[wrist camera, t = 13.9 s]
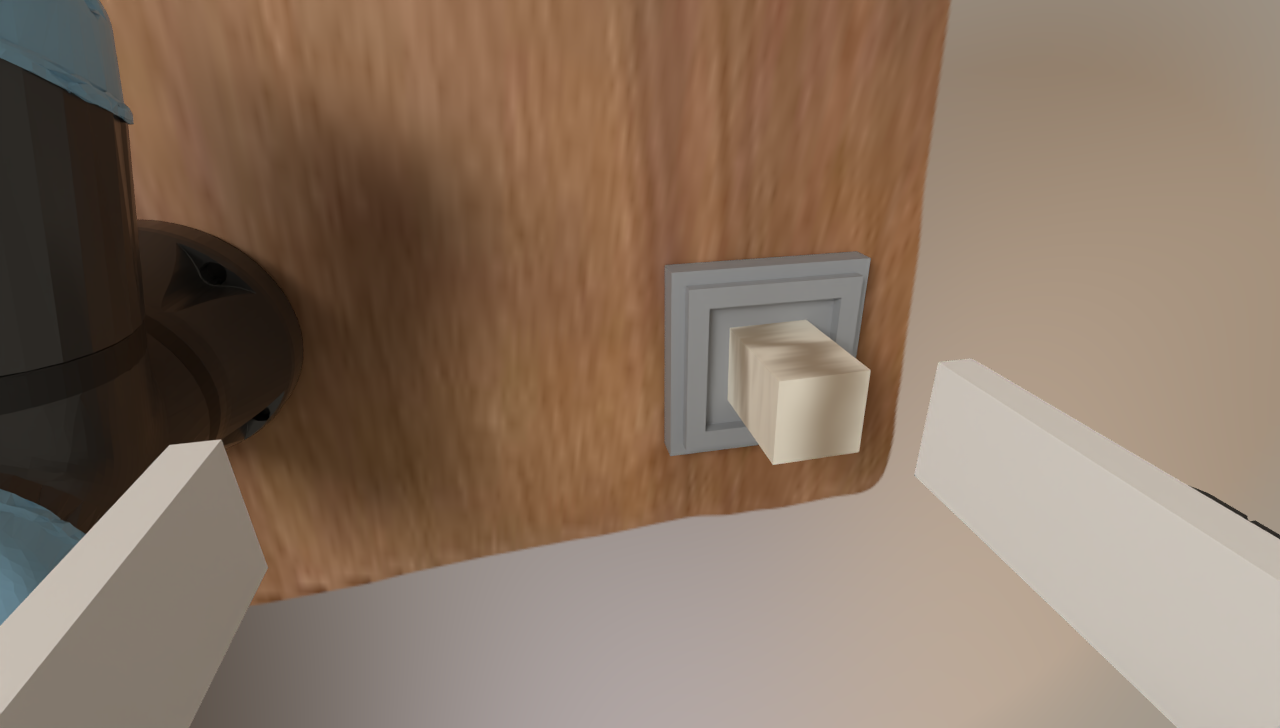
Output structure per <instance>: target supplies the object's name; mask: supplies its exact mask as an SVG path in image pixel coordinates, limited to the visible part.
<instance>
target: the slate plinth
mask: <svg viewBox="0 0 1280 728" xmlns="http://www.w3.org/2000/svg"><path fill="white" fill-rule="evenodd" d="M870 260H871V258H869V257H867V256H865V255H863V254H861V253H859V252H857V251H856V252H842V253H828V254H814V255H800V256H786V257H772V258H758V259H744V260H730V261H716V262H702V263H688V264H674V265H665V445H666V447H667V449H668V452H669V454H670V456H675V455H683V454H690V453H698V452H706V451H714V450H722V449H730V448H738V447H746V446H753V445H759V444H758V443H757V441H756V440H755V438H754V437H753V436H752V434H751V433H750V431H749V430H748V428H747V427H746V426H745V424H744V423H743V421H742V420H741V418H740V417H739V416H738V414H737V413H736V411H735V410H734V408H733V407H732V406H731V404H730V403H729V401H728V369H729V338H730V328H734V327H743V326H752V325H762V324H771V323H780V322H789V321H799V320H807V321H809V322H810V323H811V324H812V325H814V326H815V327H816V328H818V329H819V330H820V331H821V332H823V333H824V334H825V335H826V336H828V337H829V338H830V339H832V340H833V341H834V342H835V343H837V344H838V345H839V346H841V347H842V348H843V349H844V350H846V351H847V352H848V353H849V354H851V355H852V356H853V357H855V358H856V354H857V348H858V341H859V334H860V327H861V321H862V314H863V307H864V300H865V294H866V287H867V280H868V273H869V267H870Z"/></svg>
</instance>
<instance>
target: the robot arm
mask: <svg viewBox="0 0 1280 728" xmlns="http://www.w3.org/2000/svg"><path fill="white" fill-rule="evenodd" d="M128 124H133V114H132V112H131V110H130V108H128V107H127V106H126V105H125V104H124V100H123V93H122V87H121V81H120V74H119V68H118V61H117V55H116V48H115V42H114V36H113V30H112V25H111V22H110V19H109V17H108V14H107V12H106V10H105V9H104V7H103V5H102V4H101V2H100V1H99V0H0V728H189V726H190V724H191V722H192V720H193V718H194V716H195V714H196V712H197V710H198V708H199V706H200V704H201V702H202V700H203V698H204V696H205V694H206V692H207V690H208V688H209V686H210V684H211V682H212V680H213V678H214V676H215V674H216V672H217V670H218V668H219V666H220V663H221V662H222V660H223V658H224V656H225V653H226V651H227V650H228V648H229V645H230V644H231V641H232V639H233V637H234V635H235V633H236V631H237V629H238V627H239V625H240V623H241V621H242V619H243V617H244V615H245V613H246V611H247V609H248V607H249V605H250V603H251V601H252V599H253V597H254V595H255V593H256V591H257V589H258V587H259V585H260V583H261V581H262V579H263V577H264V575H265V573H266V571H267V569H268V567H267V564H266V561H265V558H264V555H263V553H262V550H261V547H260V544H259V542H258V539H257V536H256V533H255V531H254V528H253V525H252V522H251V520H250V517H249V514H248V511H247V509H246V506H245V503H244V500H243V497H242V495H241V492H240V489H239V486H238V484H237V481H236V478H235V475H234V473H233V470H232V467H231V464H230V462H229V459H228V456H227V453H226V451H225V449H227V448H229V447H231V446H233V445H235V444H237V443H240V442H242V441H244V440H246V439H247V438H249V437H250V436H252V435H254V434H255V433H256V432H258V431H259V430H261V429H262V428H263V427H264V426H265V425H266V424H268V423H269V422H270V421H271V420H272V419H273V418H274V417H275V415H276V414H277V413H278V412H279V410H280V409H281V407H282V406H283V405H284V403H285V402H286V400H287V399H288V397H289V396H290V395H291V393H292V391H293V390H294V388H295V386H296V383H297V381H298V378H299V375H300V372H301V368H302V361H303V342H302V335H301V331H300V327H299V323H298V320H297V318H296V315H295V313H294V311H293V309H292V307H291V305H290V303H289V301H288V300H287V298H286V296H285V295H284V293H283V292H282V290H281V289H280V288H279V286H278V285H277V284H276V283H275V281H274V280H273V279H272V278H271V277H270V276H269V275H268V274H267V273H266V272H265V271H264V270H263V269H262V268H261V267H260V266H259V265H258V264H256V263H255V262H254V261H253V260H252V259H250V258H249V257H248V256H246V255H245V254H244V253H242V252H241V251H239V250H238V249H236V248H234V247H233V246H231V245H229V244H227V243H226V242H224V241H222V240H220V239H218V238H216V237H214V236H211V235H209V234H207V233H204V232H201V231H199V230H196V229H193V228H189V227H186V226H182V225H178V224H174V223H168V222H162V221H154V220H137V217H136V206H135V195H134V184H133V173H132V162H131V151H130V140H129V129H128ZM914 476H915V477H916V478H917V479H919V480H920V481H921V482H922V483H923V484H924V485H925V486H926V487H927V488H928V489H929V490H930V491H931V492H932V493H933V494H934V495H935V496H936V497H937V498H938V499H939V500H940V501H942V503H944V504H945V505H946V506H947V507H948V508H949V509H950V510H951V511H952V512H953V513H954V514H955V515H956V516H957V517H958V518H959V519H960V520H961V521H962V522H963V523H964V524H965V525H967V527H969V528H970V529H971V530H972V531H973V532H974V533H975V534H976V535H977V536H978V537H979V538H980V539H981V540H982V541H983V542H984V543H985V544H986V545H987V546H988V547H989V548H990V549H991V550H993V551H994V552H995V553H996V554H997V555H998V556H999V557H1000V558H1001V559H1002V560H1003V561H1004V562H1005V563H1006V564H1007V565H1008V566H1009V567H1010V568H1011V569H1012V570H1013V571H1014V572H1016V574H1018V575H1019V576H1020V577H1021V578H1022V579H1023V580H1024V581H1025V582H1026V583H1027V584H1028V585H1029V586H1030V587H1031V588H1032V589H1033V590H1034V591H1035V592H1036V593H1037V594H1038V595H1040V597H1042V598H1043V599H1044V600H1045V601H1046V602H1047V603H1048V604H1049V605H1050V606H1051V607H1052V608H1053V609H1054V610H1055V611H1056V612H1057V613H1058V614H1059V615H1060V616H1061V617H1062V618H1063V619H1064V620H1066V621H1067V622H1068V623H1069V624H1070V625H1071V626H1072V627H1073V628H1074V629H1075V630H1076V631H1077V632H1078V633H1079V634H1080V635H1081V636H1082V637H1083V638H1084V639H1085V640H1087V642H1088V643H1089V644H1091V645H1092V646H1093V647H1094V648H1095V649H1096V650H1097V651H1098V652H1099V653H1100V654H1101V655H1102V656H1103V657H1105V659H1106V660H1107V661H1108V662H1109V663H1110V664H1111V665H1113V667H1115V668H1116V669H1117V670H1118V671H1119V672H1120V673H1121V674H1122V675H1123V676H1124V677H1125V678H1126V679H1127V680H1128V681H1129V682H1130V683H1131V684H1132V685H1133V686H1134V687H1135V688H1137V689H1138V690H1139V691H1140V692H1141V693H1142V694H1143V695H1144V696H1145V697H1146V698H1147V699H1148V700H1149V701H1150V702H1151V703H1152V704H1153V705H1154V706H1155V707H1156V708H1157V709H1158V710H1159V711H1160V712H1161V713H1162V714H1164V715H1165V716H1166V717H1167V718H1168V719H1169V720H1170V721H1171V722H1172V723H1173V724H1174V725H1175V726H1176V727H1177V728H1280V535H1279V534H1277V533H1276V532H1274V531H1272V530H1270V529H1269V528H1267V527H1265V526H1264V525H1262V524H1260V523H1258V522H1257V521H1249V520H1248V518H1247V516H1246V515H1245V514H1243V513H1241V512H1240V511H1238V510H1236V509H1234V508H1232V507H1231V506H1229V505H1228V504H1226V503H1224V502H1222V501H1221V500H1219V499H1217V498H1216V497H1214V496H1212V495H1210V494H1208V493H1206V492H1204V491H1201V490H1199V489H1196V488H1194V487H1191V486H1189V485H1187V484H1185V483H1183V482H1181V481H1180V480H1178V479H1176V478H1174V477H1173V476H1171V475H1169V474H1168V473H1166V472H1164V471H1163V470H1161V469H1159V468H1158V467H1156V466H1154V465H1153V464H1151V463H1149V462H1147V461H1146V460H1144V459H1142V458H1141V457H1139V456H1137V455H1135V454H1134V453H1132V452H1130V451H1129V450H1127V449H1125V448H1124V447H1122V446H1120V445H1119V444H1117V443H1115V442H1113V441H1112V440H1110V439H1108V438H1107V437H1105V436H1103V435H1102V434H1100V433H1098V432H1096V431H1095V430H1093V429H1091V428H1090V427H1088V426H1086V425H1085V424H1083V423H1081V422H1079V421H1078V420H1076V419H1074V418H1072V417H1071V416H1069V415H1068V414H1066V413H1064V412H1062V411H1061V410H1059V409H1057V408H1056V407H1054V406H1052V405H1051V404H1049V403H1047V402H1045V401H1044V400H1042V399H1040V398H1039V397H1037V396H1035V395H1033V394H1032V393H1030V392H1028V391H1027V390H1025V389H1023V388H1022V387H1020V386H1018V385H1016V384H1015V383H1013V382H1011V381H1009V380H1008V379H1006V378H1005V377H1003V376H1001V375H999V374H998V373H996V372H994V371H993V370H991V369H989V368H988V367H986V366H984V365H983V364H981V363H979V362H977V361H976V360H974V359H971V358H970V359H961V360H952V361H943V362H938V366H937V371H936V375H935V380H934V385H933V389H932V394H931V399H930V404H929V408H928V413H927V418H926V423H925V427H924V432H923V436H922V442H921V446H920V451H919V455H918V460H917V465H916V469H915V474H914Z"/></svg>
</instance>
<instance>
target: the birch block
mask: <svg viewBox="0 0 1280 728" xmlns="http://www.w3.org/2000/svg"><path fill="white" fill-rule="evenodd" d="M870 372H871V370H870V369H869V368H867V367H866V366H865V365H863V364H862V363H861V362H860V361H858V360H857V359H856V358H855V357H853V356H852V355H851V354H849V353H848V352H847V351H846V350H844V349H843V348H842V347H841V346H839V345H838V344H837V343H835V342H834V341H833V340H832V339H830V338H829V337H828V336H826V335H825V334H824V333H823V332H821V331H820V330H819V329H818V328H816V327H815V326H814V325H812V324H811V323H810V322H809V321H807V320H799V321H789V322H780V323H771V324H762V325H752V326H743V327H734V328H730V338H729V369H728V401H729V403H730V404H731V406H732V407H733V408H734V410H735V411H736V413H737V414H738V416H739V417H740V418H741V420H742V421H743V423H744V424H745V426H746V427H747V428H748V430H749V431H750V433H751V434H752V436H753V437H754V438H755V440H756V441H757V443H758V444H759V446H760V447H761V448H762V450H763V451H764V453H765V454H766V456H767V457H768V458H769V460H770V461H771V463H772V464H773V465H776V464H782V463H789V462H796V461H803V460H809V459H816V458H823V457H829V456H836V455H843V454H850V453H856V452H859V448H860V441H861V434H862V427H863V420H864V413H865V407H866V400H867V393H868V386H869V379H870Z"/></svg>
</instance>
